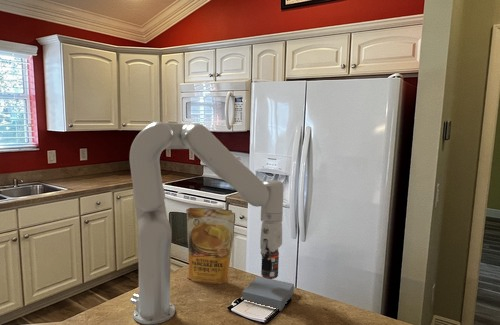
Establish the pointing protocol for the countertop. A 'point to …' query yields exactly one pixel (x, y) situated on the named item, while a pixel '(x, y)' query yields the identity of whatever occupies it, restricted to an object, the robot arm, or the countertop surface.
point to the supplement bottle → (272, 266)
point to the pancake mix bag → (209, 244)
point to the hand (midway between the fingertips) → (269, 266)
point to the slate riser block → (269, 292)
